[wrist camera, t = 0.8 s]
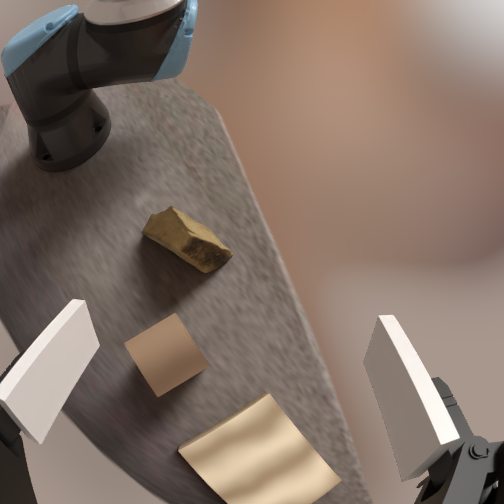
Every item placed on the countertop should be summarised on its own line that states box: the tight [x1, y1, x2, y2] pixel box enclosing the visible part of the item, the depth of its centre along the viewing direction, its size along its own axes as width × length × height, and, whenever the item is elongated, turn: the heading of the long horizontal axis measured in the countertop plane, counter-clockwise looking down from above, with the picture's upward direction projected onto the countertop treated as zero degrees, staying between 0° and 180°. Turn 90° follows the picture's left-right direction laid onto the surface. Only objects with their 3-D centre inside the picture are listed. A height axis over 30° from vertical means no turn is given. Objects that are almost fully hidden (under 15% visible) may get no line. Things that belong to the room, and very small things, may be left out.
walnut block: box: [124, 313, 210, 397], centre depth 25 cm, size 5×5×10 cm
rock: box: [142, 206, 233, 273], centre depth 32 cm, size 11×9×10 cm
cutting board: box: [178, 392, 342, 504], centre depth 25 cm, size 16×12×2 cm
